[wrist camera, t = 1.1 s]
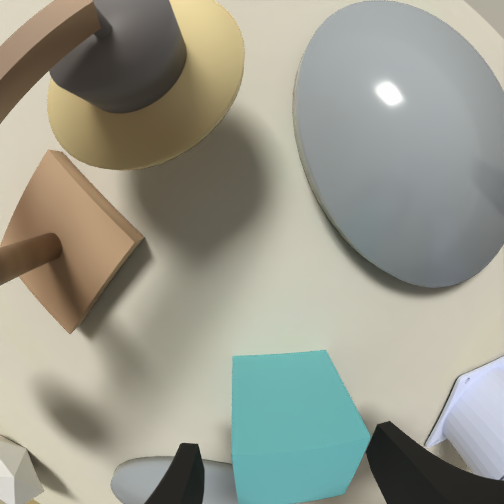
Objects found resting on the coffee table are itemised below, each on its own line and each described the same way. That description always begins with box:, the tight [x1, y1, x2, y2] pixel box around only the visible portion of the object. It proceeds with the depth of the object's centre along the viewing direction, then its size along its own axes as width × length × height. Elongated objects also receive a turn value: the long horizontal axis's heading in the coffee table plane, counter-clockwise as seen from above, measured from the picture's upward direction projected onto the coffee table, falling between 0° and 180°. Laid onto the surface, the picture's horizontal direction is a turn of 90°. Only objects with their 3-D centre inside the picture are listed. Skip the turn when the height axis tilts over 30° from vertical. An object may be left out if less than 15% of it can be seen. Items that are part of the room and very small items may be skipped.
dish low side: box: [292, 0, 504, 288], centre depth 10 cm, size 15×15×1 cm
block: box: [232, 350, 371, 504], centre depth 10 cm, size 4×4×6 cm
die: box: [0, 435, 44, 504], centre depth 11 cm, size 8×9×10 cm
